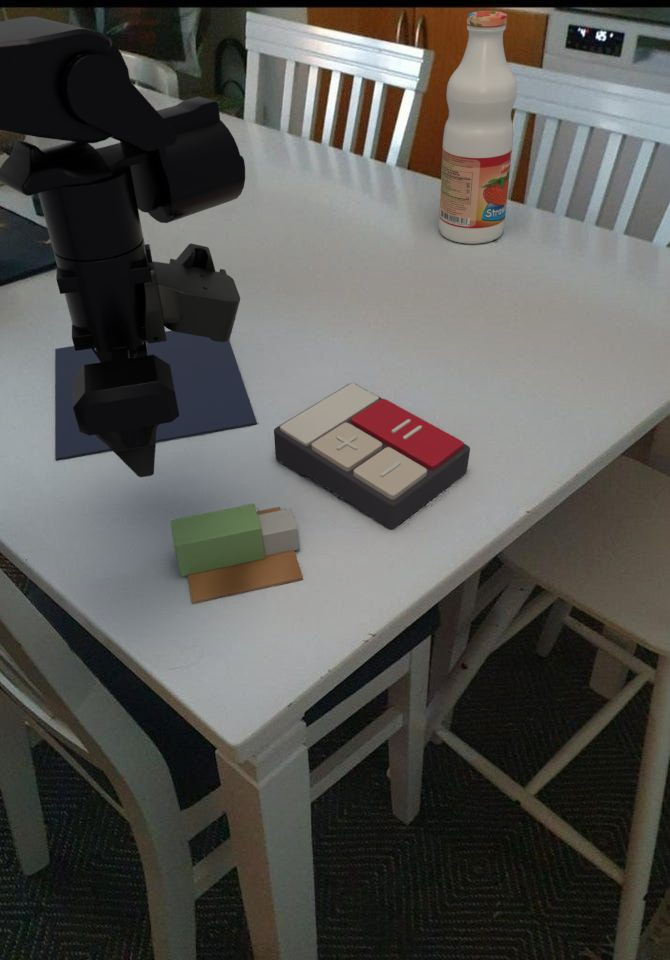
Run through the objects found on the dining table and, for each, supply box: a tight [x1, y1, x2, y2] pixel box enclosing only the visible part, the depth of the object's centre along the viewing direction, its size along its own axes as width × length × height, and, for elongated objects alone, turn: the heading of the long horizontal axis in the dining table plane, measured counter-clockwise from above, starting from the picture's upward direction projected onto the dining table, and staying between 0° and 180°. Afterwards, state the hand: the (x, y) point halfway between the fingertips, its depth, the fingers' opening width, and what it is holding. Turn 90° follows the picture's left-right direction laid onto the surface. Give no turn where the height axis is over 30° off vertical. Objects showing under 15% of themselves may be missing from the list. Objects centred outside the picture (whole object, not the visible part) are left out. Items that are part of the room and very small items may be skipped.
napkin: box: [54, 330, 258, 461], centre depth 89 cm, size 20×22×1 cm
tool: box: [169, 503, 301, 577], centre depth 67 cm, size 10×3×4 cm, turn 105°
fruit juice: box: [438, 10, 518, 245], centre depth 109 cm, size 9×9×28 cm
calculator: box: [273, 382, 471, 530], centre depth 75 cm, size 11×4×15 cm
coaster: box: [186, 506, 304, 604], centre depth 68 cm, size 9×9×1 cm
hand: (142, 438), depth 62 cm, fingers open, 9 cm apart
